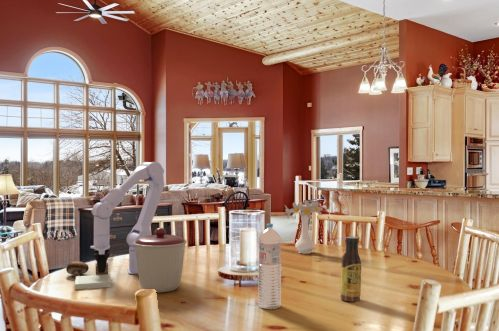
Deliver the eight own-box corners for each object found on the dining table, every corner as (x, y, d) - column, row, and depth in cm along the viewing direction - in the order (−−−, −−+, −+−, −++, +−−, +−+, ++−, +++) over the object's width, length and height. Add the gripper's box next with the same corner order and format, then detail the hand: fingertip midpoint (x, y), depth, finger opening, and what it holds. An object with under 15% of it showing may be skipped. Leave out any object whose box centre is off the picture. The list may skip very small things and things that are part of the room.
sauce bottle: (347, 303, 149) (348, 239, 149) (336, 298, 155) (336, 236, 155) (365, 301, 152) (365, 238, 151) (353, 296, 157) (353, 235, 157)
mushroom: (79, 271, 179) (79, 255, 182) (61, 278, 180) (61, 262, 184) (92, 277, 185) (92, 262, 189) (75, 283, 187) (75, 269, 190)
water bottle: (257, 303, 149) (257, 222, 149) (279, 303, 150) (279, 222, 149) (259, 310, 142) (259, 225, 142) (282, 309, 143) (282, 225, 143)
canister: (193, 284, 173) (193, 225, 173) (176, 297, 155) (175, 232, 155) (146, 281, 176) (146, 223, 176) (123, 294, 159) (123, 230, 159)
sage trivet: (110, 278, 180) (110, 274, 180) (111, 286, 169) (111, 281, 169) (76, 281, 176) (76, 276, 176) (74, 289, 165) (74, 284, 165)
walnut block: (107, 275, 186) (107, 262, 186) (108, 278, 181) (108, 265, 181) (95, 276, 184) (95, 263, 184) (95, 279, 180) (95, 265, 180)
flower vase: (282, 250, 238) (282, 199, 237) (319, 250, 239) (319, 199, 239) (287, 255, 225) (287, 202, 224) (325, 255, 226) (326, 201, 226)
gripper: (90, 232, 189) (90, 266, 189) (90, 237, 175) (90, 275, 175) (109, 231, 191) (109, 265, 191) (110, 236, 177) (110, 273, 177)
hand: (101, 270), depth 183 cm, fingers open, 7 cm apart
